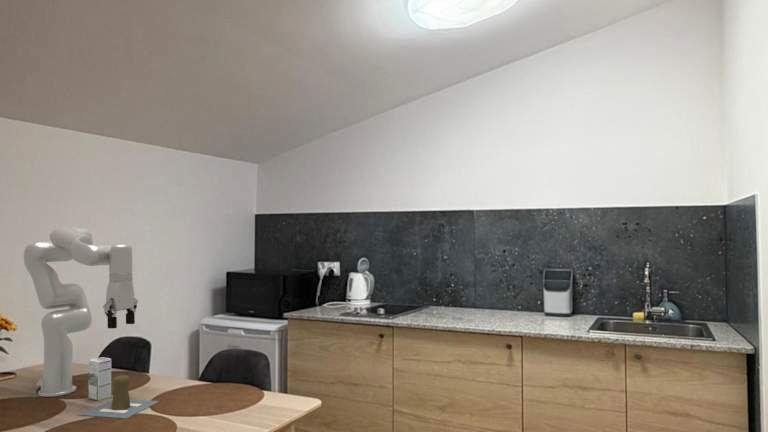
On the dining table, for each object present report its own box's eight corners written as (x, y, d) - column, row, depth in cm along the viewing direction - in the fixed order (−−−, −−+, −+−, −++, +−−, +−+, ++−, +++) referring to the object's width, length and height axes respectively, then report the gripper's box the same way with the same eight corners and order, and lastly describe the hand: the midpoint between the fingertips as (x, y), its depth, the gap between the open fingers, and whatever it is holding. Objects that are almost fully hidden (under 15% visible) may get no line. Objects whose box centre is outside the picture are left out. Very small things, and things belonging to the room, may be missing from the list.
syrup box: (111, 396, 195) (112, 357, 196) (97, 401, 190) (98, 361, 190) (101, 394, 197) (102, 356, 198) (86, 399, 192) (87, 359, 193)
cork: (122, 410, 178) (122, 378, 179) (107, 409, 179) (107, 377, 180) (134, 405, 184) (134, 374, 184) (119, 404, 185) (119, 373, 186)
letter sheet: (78, 415, 175) (78, 414, 175) (115, 398, 192) (115, 398, 192) (126, 418, 171) (126, 417, 171) (159, 401, 189) (159, 401, 189)
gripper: (127, 277, 197) (127, 322, 196) (94, 280, 180) (95, 330, 179) (145, 276, 196) (145, 322, 195) (114, 279, 179) (114, 329, 178)
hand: (121, 326), depth 187 cm, fingers open, 9 cm apart
